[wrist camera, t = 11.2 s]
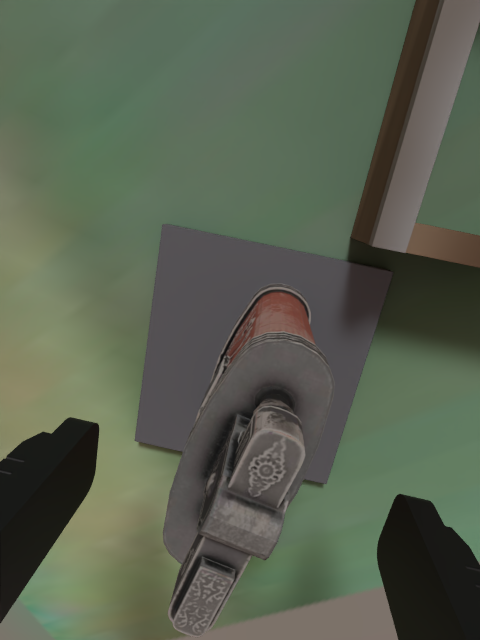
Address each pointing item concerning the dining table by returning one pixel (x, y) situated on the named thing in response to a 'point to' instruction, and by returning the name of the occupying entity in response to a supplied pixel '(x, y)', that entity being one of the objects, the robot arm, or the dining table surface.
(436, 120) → the holder
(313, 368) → the lighter
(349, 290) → the mat
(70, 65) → the dining table surface
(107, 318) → the dining table surface
